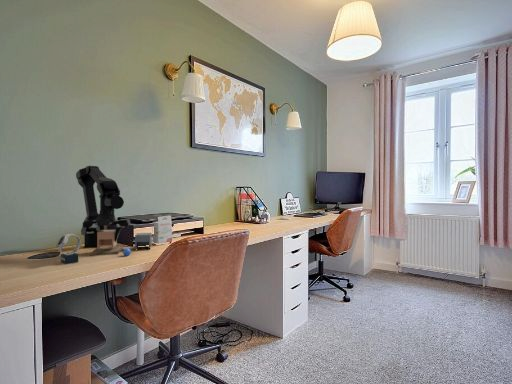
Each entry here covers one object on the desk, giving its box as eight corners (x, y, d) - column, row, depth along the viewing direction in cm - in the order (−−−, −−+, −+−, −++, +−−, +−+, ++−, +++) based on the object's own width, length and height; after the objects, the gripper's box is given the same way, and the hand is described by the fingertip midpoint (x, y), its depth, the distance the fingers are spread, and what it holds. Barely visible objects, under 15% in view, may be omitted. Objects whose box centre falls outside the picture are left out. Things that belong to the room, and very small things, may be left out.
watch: (54, 262, 112) (54, 234, 112) (77, 258, 118) (77, 232, 118) (59, 265, 108) (59, 236, 108) (83, 261, 114) (83, 233, 114)
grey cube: (135, 250, 135) (135, 235, 135) (137, 247, 141) (137, 233, 141) (150, 249, 136) (150, 234, 136) (151, 246, 143) (151, 232, 143)
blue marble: (122, 256, 122) (122, 249, 122) (123, 255, 125) (123, 247, 125) (130, 256, 123) (130, 248, 123) (131, 254, 126) (131, 247, 126)
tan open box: (97, 248, 127) (97, 232, 127) (101, 245, 133) (101, 230, 133) (113, 247, 129) (113, 231, 129) (116, 244, 135) (116, 229, 135)
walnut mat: (90, 255, 124) (90, 252, 124) (97, 249, 135) (97, 247, 135) (117, 253, 127) (117, 251, 127) (122, 248, 138) (122, 246, 138)
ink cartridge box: (166, 242, 155) (166, 214, 155) (172, 243, 152) (172, 215, 152) (152, 244, 148) (152, 216, 148) (158, 245, 145) (157, 216, 145)
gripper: (78, 209, 121) (78, 246, 121) (125, 208, 125) (126, 244, 126) (86, 207, 131) (86, 241, 132) (130, 207, 136) (130, 239, 136)
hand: (107, 241), depth 131 cm, fingers closed on tan open box, 7 cm apart
